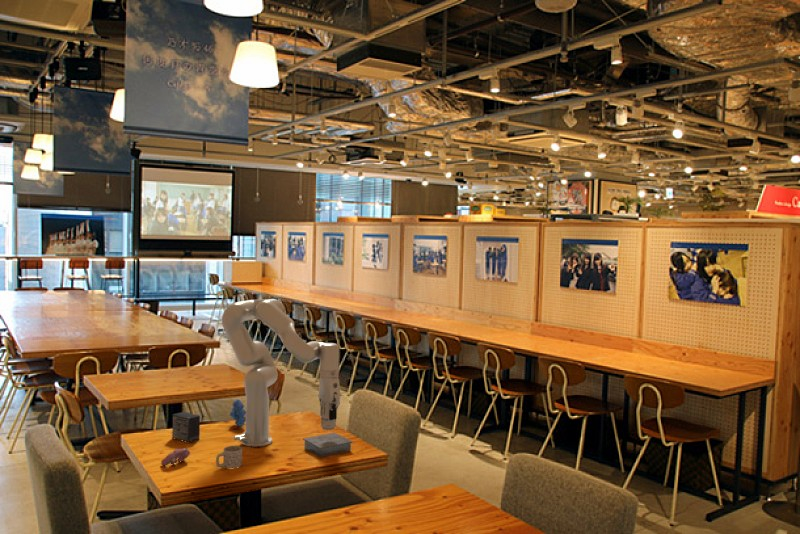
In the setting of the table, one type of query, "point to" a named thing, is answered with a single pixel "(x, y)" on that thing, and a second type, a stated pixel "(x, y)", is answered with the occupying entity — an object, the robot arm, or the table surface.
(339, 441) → the stand
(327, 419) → the energy drink can
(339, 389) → the robot arm
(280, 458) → the table surface
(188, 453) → the purple oval lump
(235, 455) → the mug
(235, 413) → the grapes
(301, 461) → the table surface
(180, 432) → the small box
